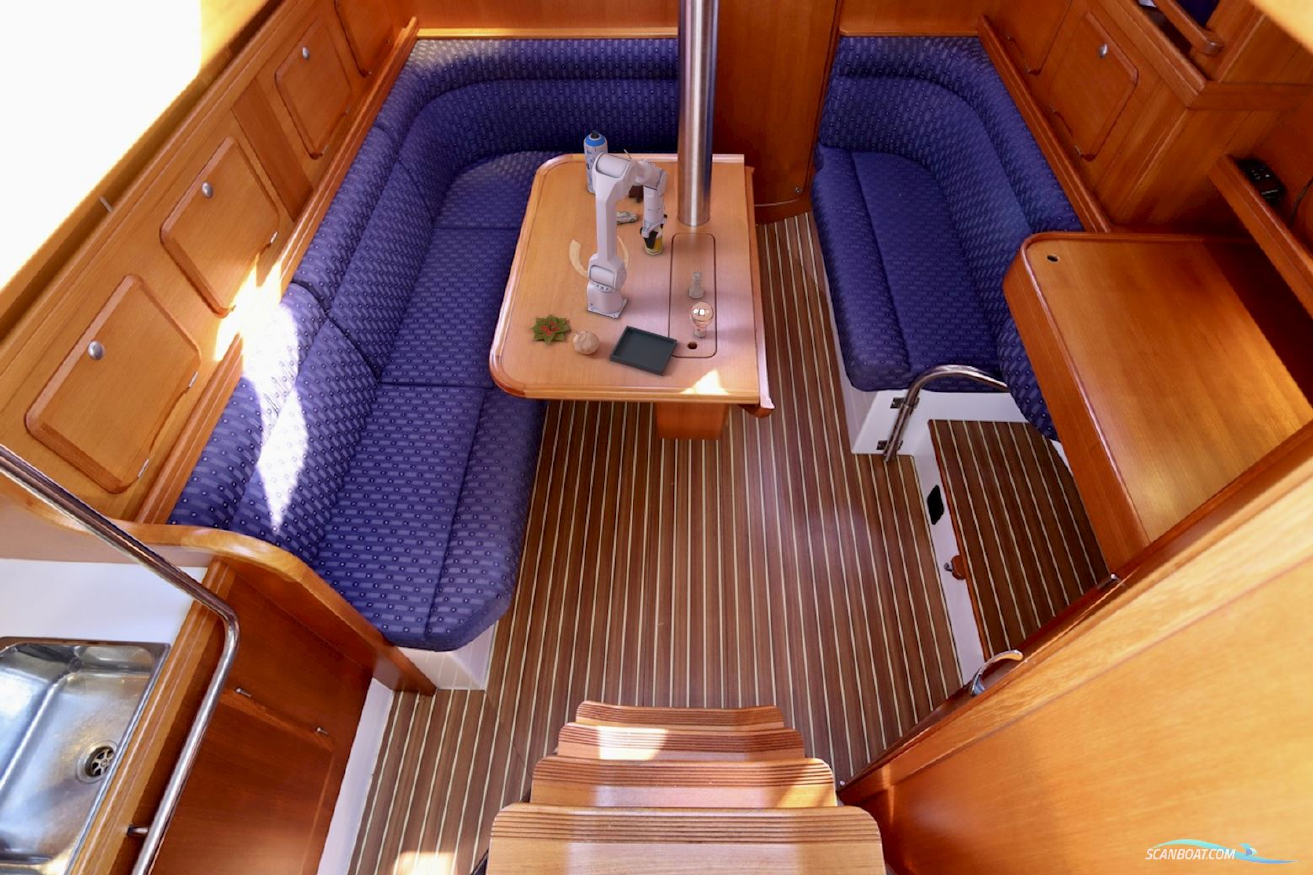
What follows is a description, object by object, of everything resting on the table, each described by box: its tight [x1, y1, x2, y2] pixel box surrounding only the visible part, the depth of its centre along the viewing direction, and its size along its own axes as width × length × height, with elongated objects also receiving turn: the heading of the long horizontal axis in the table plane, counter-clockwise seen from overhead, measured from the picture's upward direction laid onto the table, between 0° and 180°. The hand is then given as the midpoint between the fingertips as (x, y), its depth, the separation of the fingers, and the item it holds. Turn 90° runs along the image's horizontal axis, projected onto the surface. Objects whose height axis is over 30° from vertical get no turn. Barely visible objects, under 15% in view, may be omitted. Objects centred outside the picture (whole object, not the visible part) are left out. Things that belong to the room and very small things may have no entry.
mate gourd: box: [623, 148, 644, 203], centre depth 213 cm, size 8×8×15 cm
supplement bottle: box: [644, 225, 663, 256], centre depth 200 cm, size 5×5×10 cm
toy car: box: [616, 210, 638, 226], centre depth 211 cm, size 4×8×3 cm, turn 104°
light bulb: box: [688, 300, 715, 338], centre depth 179 cm, size 7×7×12 cm
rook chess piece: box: [688, 270, 704, 299], centre depth 190 cm, size 4×4×8 cm
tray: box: [609, 325, 678, 377], centre depth 179 cm, size 15×12×2 cm
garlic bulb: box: [572, 330, 600, 355], centre depth 177 cm, size 7×6×8 cm
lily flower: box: [530, 314, 571, 345], centre depth 183 cm, size 12×12×5 cm
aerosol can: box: [583, 129, 609, 195], centre depth 213 cm, size 8×8×20 cm
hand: (653, 242), depth 202 cm, fingers closed on supplement bottle, 5 cm apart
